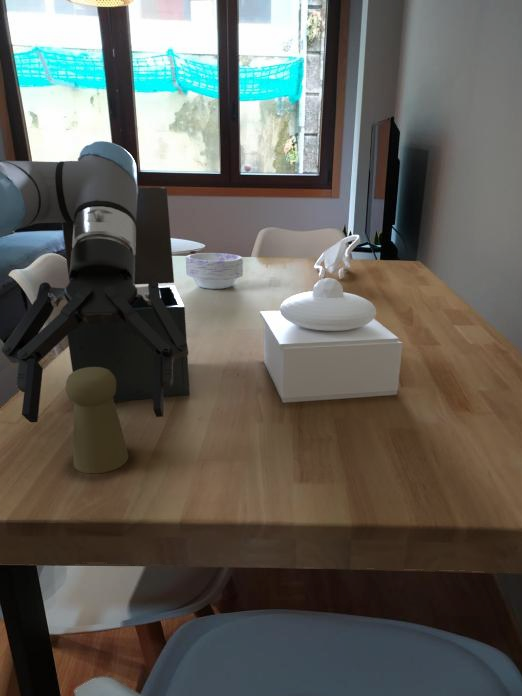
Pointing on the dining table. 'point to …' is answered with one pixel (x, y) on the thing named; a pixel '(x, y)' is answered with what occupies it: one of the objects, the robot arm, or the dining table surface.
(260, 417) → the dining table surface
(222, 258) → the paper bowls
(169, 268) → the bin lid
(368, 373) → the butter dish
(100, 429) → the cork
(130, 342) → the trash can
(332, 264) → the white angular legged piece
